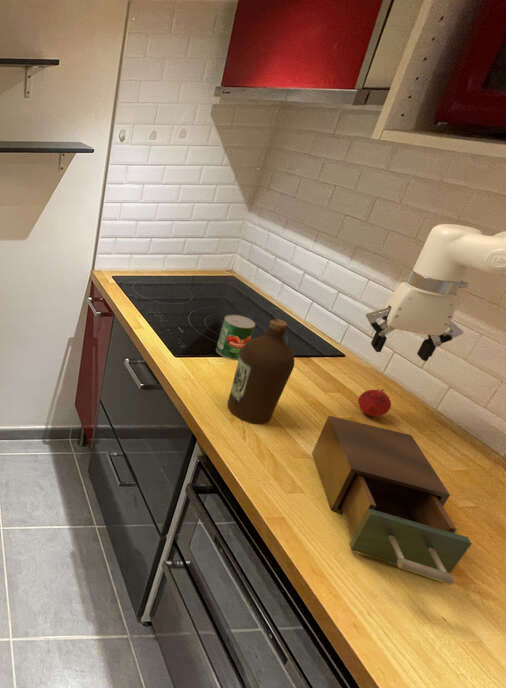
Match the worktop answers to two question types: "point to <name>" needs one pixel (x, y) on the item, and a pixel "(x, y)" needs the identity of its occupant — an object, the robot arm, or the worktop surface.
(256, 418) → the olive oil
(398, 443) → the cabinet
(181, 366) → the worktop surface
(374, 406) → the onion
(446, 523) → the drawer
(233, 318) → the canned tomato
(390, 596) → the worktop surface
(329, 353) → the worktop surface
